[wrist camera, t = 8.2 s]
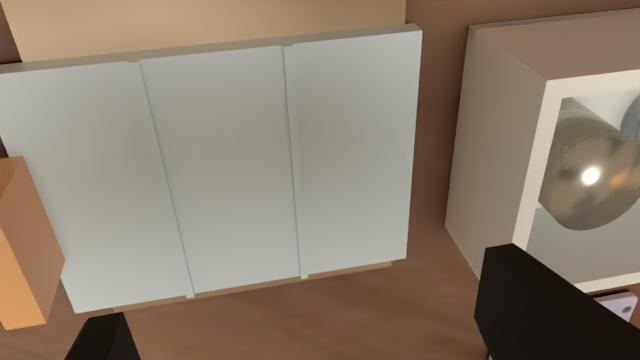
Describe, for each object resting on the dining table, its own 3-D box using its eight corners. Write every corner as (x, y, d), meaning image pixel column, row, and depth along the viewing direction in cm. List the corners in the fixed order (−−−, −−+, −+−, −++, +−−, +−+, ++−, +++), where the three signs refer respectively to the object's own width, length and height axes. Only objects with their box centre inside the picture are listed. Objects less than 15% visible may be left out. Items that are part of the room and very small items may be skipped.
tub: (763, -6, 20) (907, 36, 16) (682, 187, 25) (776, 256, 21) (468, 25, 19) (547, 80, 14) (444, 225, 24) (497, 309, 19)
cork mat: (389, 260, 24) (391, 266, 24) (115, 305, 22) (114, 312, 22) (404, -46, 17) (408, -43, 16) (0, -13, 15) (-4, -10, 15)
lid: (414, 22, 18) (461, 64, 15) (399, 246, 23) (432, 310, 20) (-46, 69, 16) (-104, 128, 13) (58, 302, 21) (34, 383, 18)
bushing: (569, 164, 22) (633, 222, 19) (489, 176, 22) (541, 237, 19) (590, 85, 20) (666, 134, 17) (503, 96, 20) (564, 149, 17)
